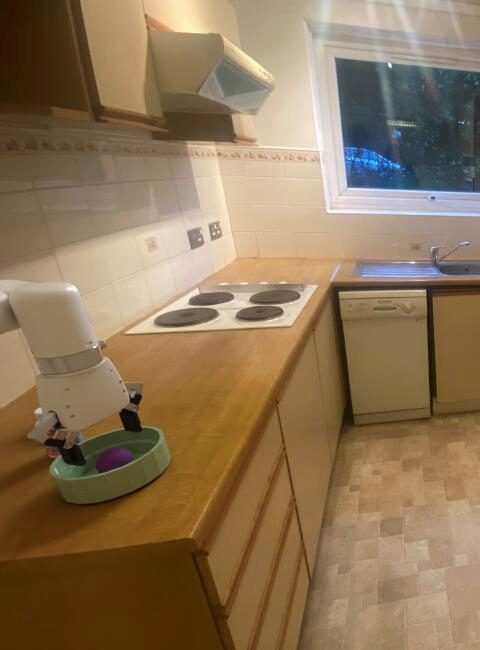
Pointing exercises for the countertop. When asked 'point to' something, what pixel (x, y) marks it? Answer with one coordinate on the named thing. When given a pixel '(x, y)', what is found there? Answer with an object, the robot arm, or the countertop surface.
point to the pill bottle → (53, 451)
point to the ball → (113, 459)
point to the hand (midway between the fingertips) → (107, 446)
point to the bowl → (97, 487)
